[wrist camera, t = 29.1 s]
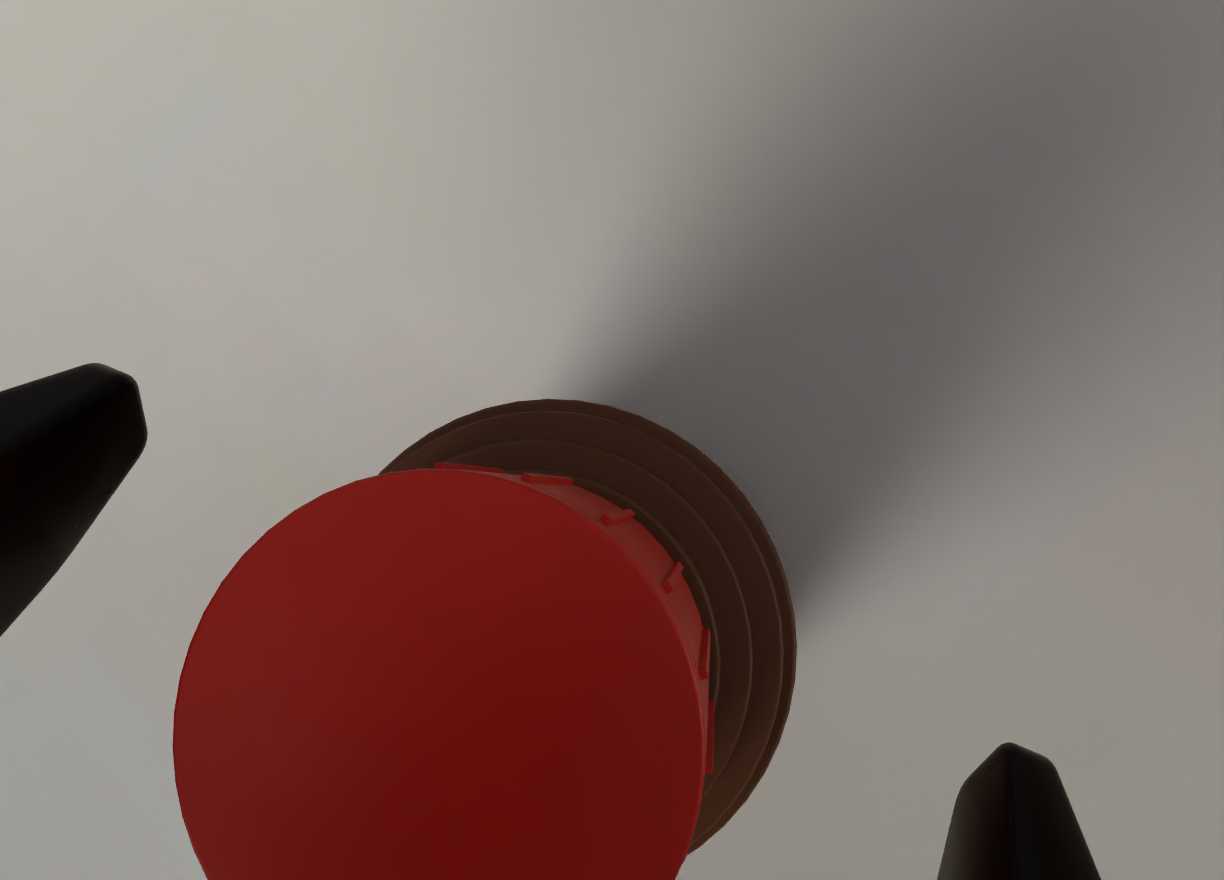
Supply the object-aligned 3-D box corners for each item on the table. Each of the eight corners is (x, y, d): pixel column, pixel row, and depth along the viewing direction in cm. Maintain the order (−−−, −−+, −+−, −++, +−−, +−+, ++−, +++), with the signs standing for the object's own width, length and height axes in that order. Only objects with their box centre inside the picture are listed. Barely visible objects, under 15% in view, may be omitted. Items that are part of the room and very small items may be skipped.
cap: (327, 877, 10) (171, 1031, 7) (316, 479, 11) (160, 473, 8) (723, 875, 10) (725, 1036, 7) (702, 460, 10) (695, 446, 7)
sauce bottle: (502, 779, 19) (179, 1208, 8) (425, 479, 19) (14, 460, 8) (805, 702, 18) (946, 1042, 7) (718, 396, 19) (719, 251, 8)
